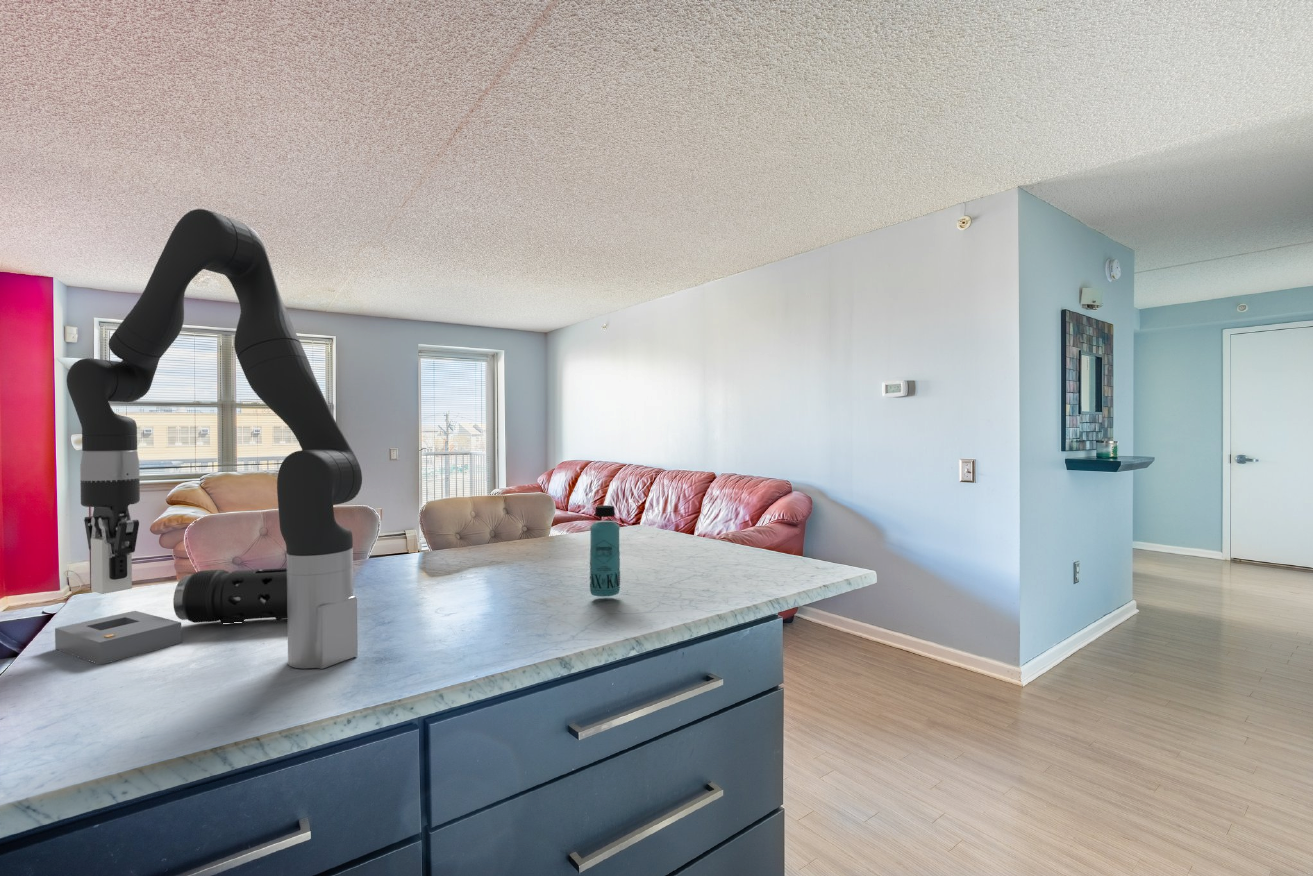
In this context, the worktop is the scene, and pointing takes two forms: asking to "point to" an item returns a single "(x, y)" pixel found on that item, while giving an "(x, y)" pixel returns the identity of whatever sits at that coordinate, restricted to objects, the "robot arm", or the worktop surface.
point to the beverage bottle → (604, 555)
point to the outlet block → (117, 636)
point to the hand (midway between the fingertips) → (111, 576)
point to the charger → (106, 569)
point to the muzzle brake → (231, 595)
